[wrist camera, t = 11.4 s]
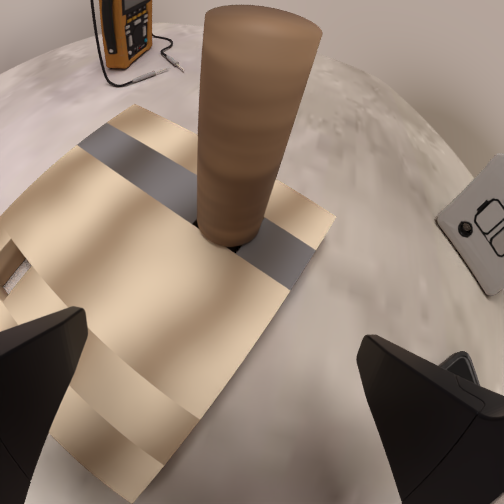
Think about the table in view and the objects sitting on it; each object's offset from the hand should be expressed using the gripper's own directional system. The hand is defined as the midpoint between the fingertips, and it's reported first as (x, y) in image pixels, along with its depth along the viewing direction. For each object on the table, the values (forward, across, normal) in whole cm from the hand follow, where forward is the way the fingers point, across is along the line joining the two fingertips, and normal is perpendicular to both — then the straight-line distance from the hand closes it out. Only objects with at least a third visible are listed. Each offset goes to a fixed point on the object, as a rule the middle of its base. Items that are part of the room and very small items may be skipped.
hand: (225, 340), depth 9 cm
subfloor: (+9, +6, +2) cm, 11 cm away
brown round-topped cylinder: (+11, 0, 0) cm, 11 cm away
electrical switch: (+13, -23, -2) cm, 26 cm away
